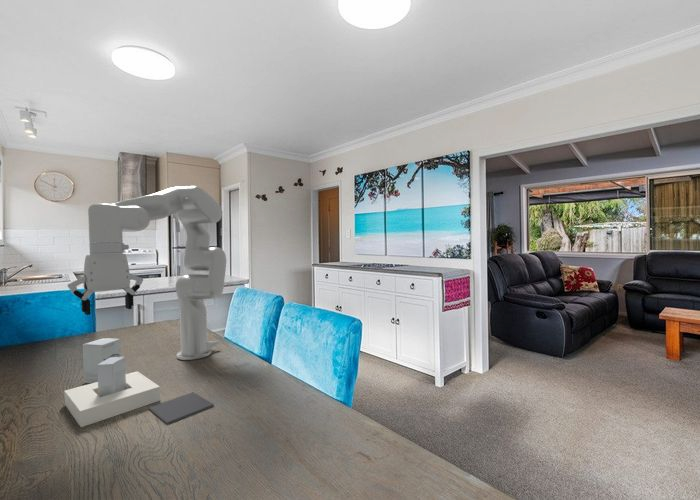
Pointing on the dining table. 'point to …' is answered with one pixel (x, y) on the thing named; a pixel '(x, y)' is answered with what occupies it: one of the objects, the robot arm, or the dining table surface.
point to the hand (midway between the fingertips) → (108, 311)
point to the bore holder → (110, 399)
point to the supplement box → (98, 356)
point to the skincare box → (111, 376)
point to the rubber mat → (180, 407)
